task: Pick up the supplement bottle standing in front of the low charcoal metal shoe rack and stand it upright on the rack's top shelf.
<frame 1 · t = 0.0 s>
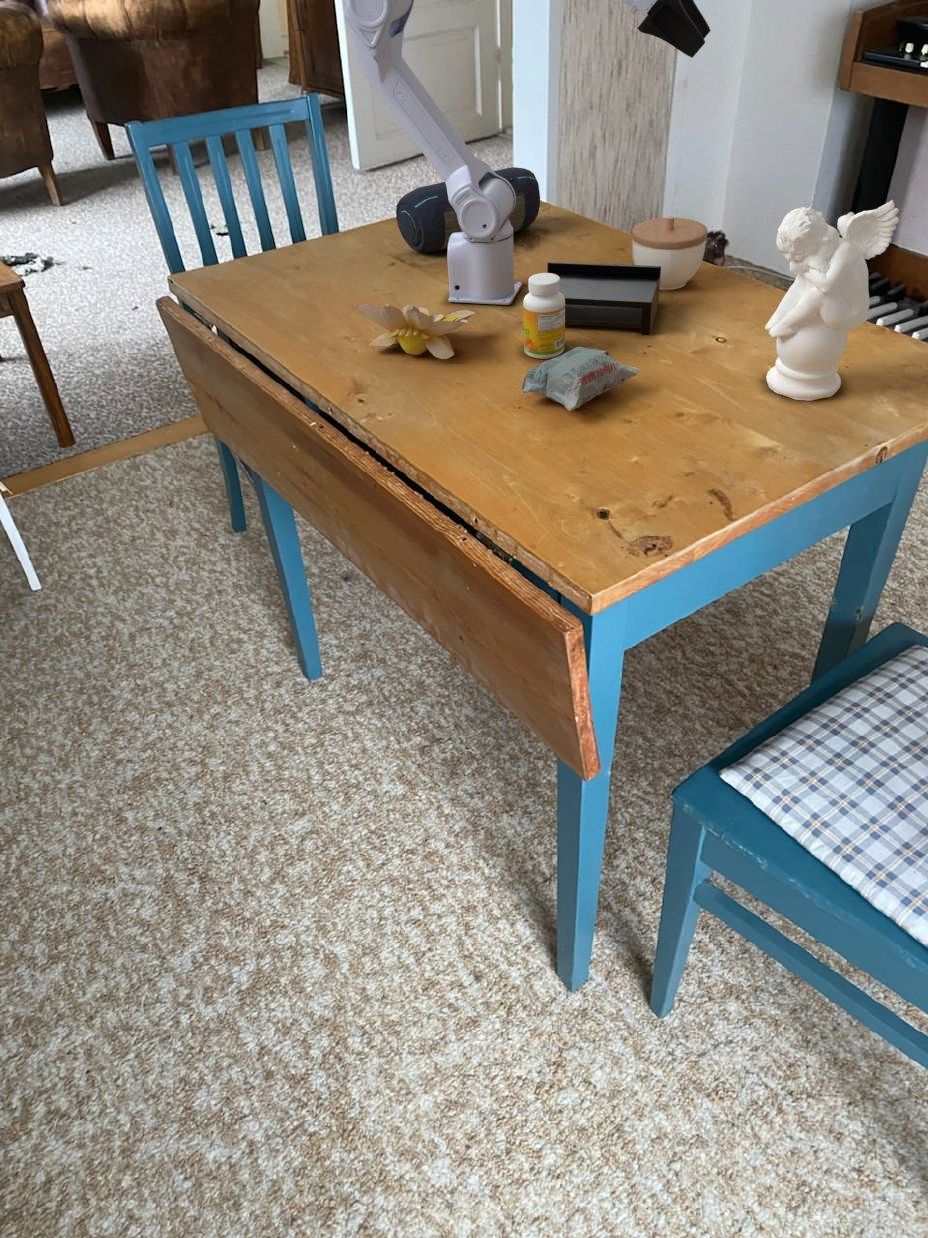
hand: (701, 43, 115), 32 cm above the table, tool tilted 50°, fingers open, 7 cm apart
portable speaker: (473, 241, 161), on the table
trinket box: (665, 283, 142), on the table
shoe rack: (596, 316, 134), on the table
supplement bottle: (544, 352, 127), on the table
packaged food: (579, 397, 116), on the table
cherub figurine: (812, 380, 116), on the table
decorative flower: (425, 351, 129), on the table
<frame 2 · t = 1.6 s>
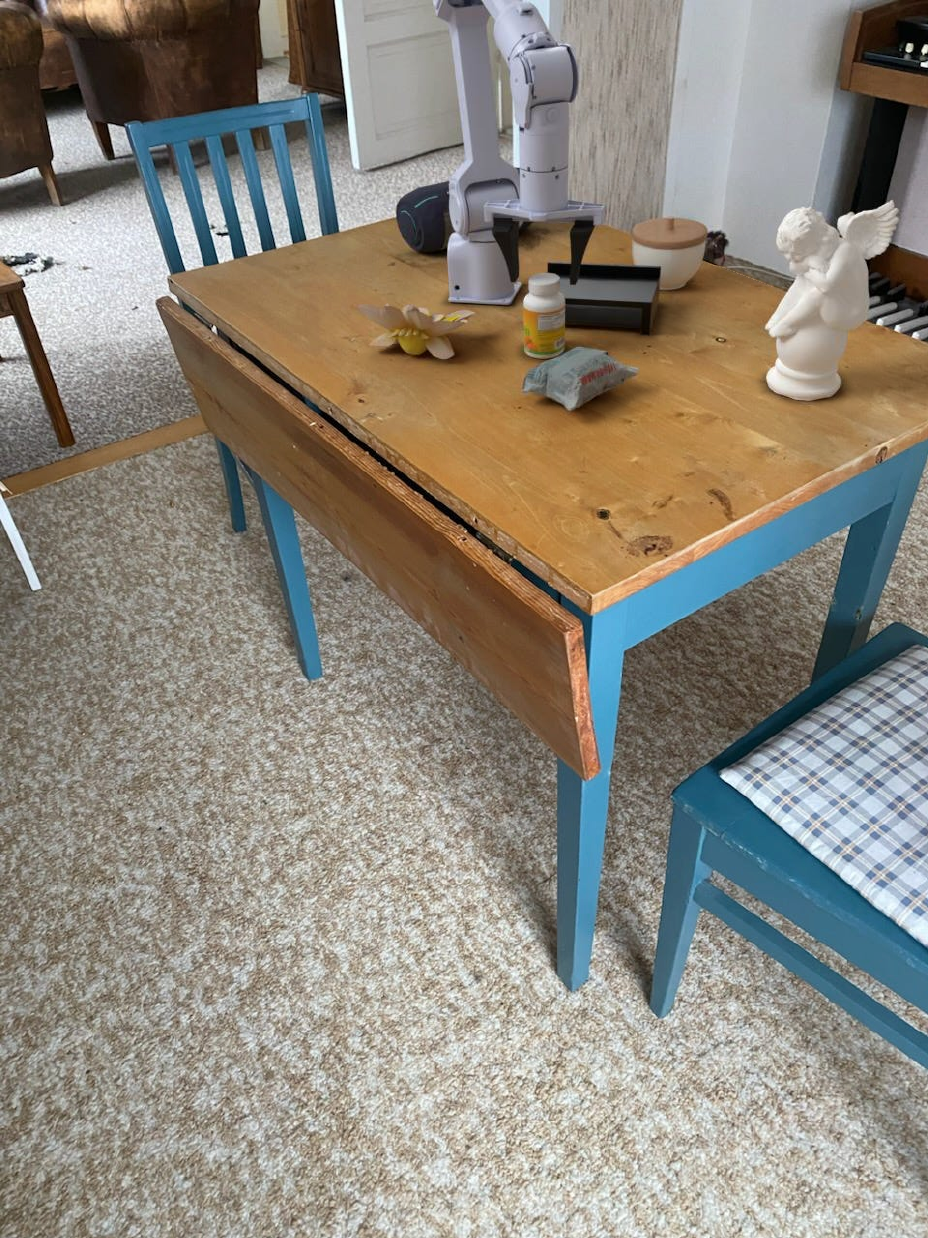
hand: (544, 280, 120), 9 cm above the table, tool pointing down, fingers open, 7 cm apart
nothing on the table moved.
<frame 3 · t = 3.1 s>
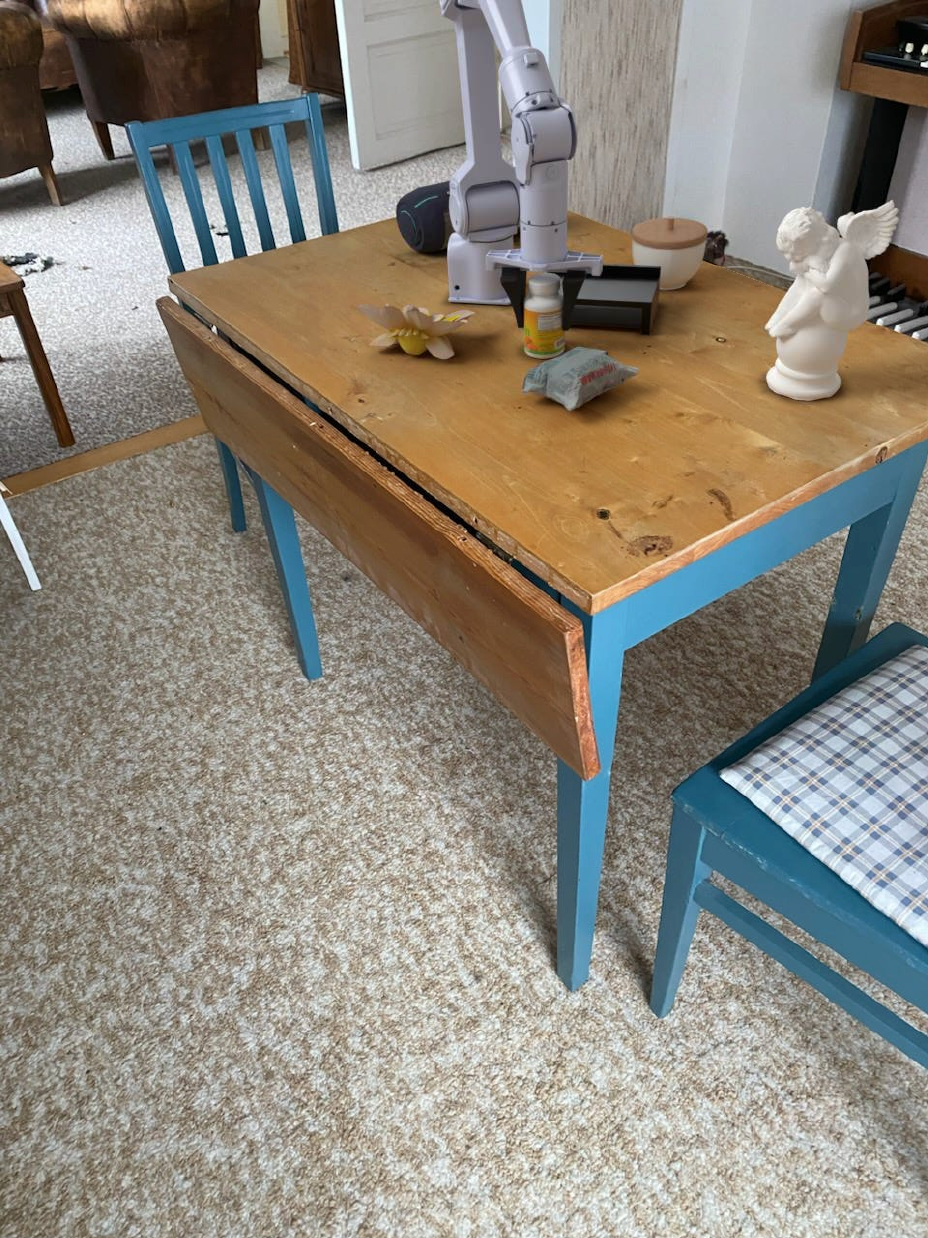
hand: (544, 326, 124), 3 cm above the table, tool pointing down, fingers closed on supplement bottle, 5 cm apart
supplement bottle: (544, 352, 127), on the table, touching gripper
everything else where it was.
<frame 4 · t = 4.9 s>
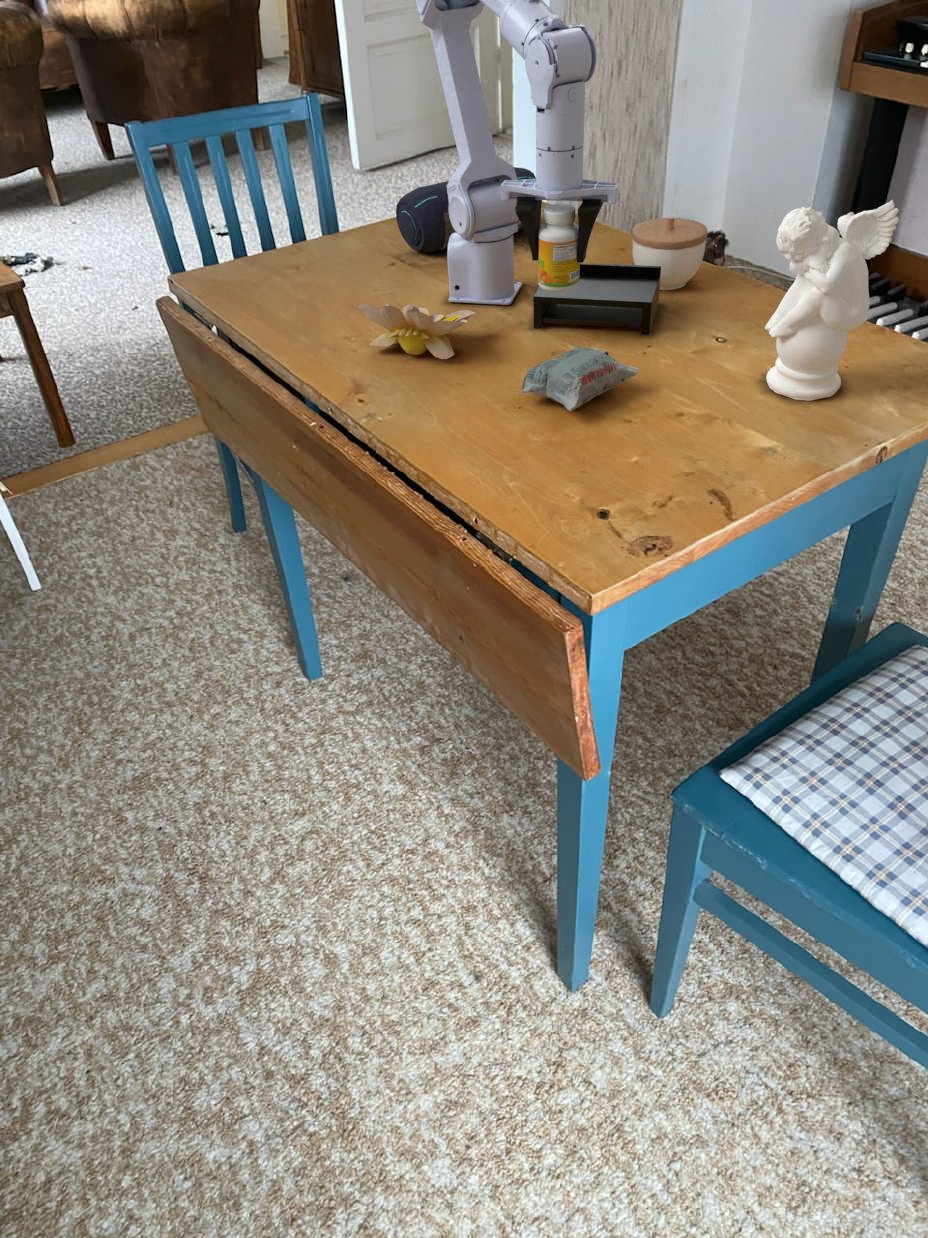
hand: (558, 258, 123), 10 cm above the table, tool pointing down, fingers closed on supplement bottle, 5 cm apart
supplement bottle: (558, 286, 126), point 7 cm above the table, touching gripper
everything else where it was.
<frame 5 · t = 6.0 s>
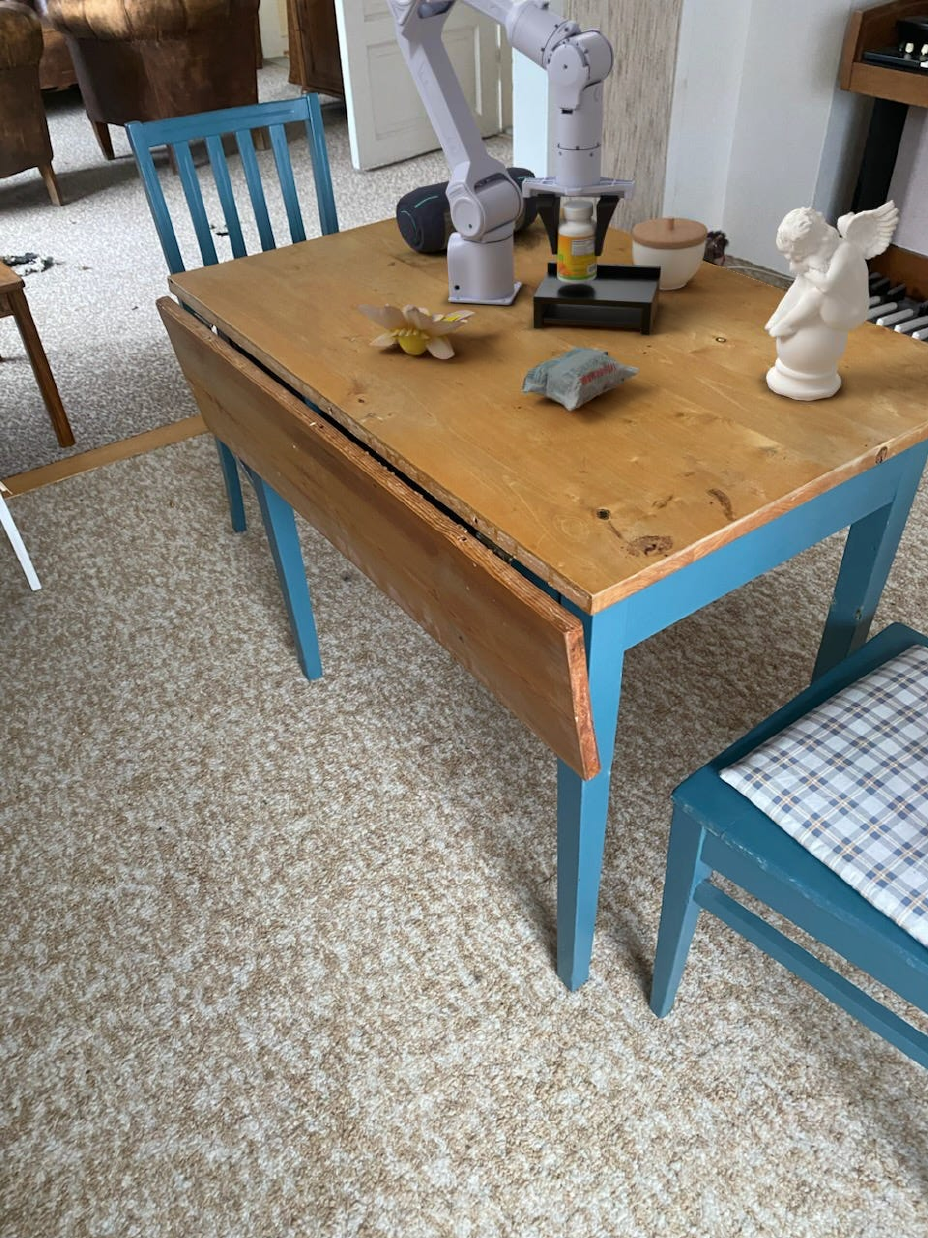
hand: (576, 252, 129), 9 cm above the table, tool pointing down, fingers closed on supplement bottle, 5 cm apart
supplement bottle: (576, 279, 131), point 5 cm above the table, touching gripper
everything else where it was.
when the fingers open (8 cm above the table, at t = 6.8 s): supplement bottle stays where it is, resting on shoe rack.
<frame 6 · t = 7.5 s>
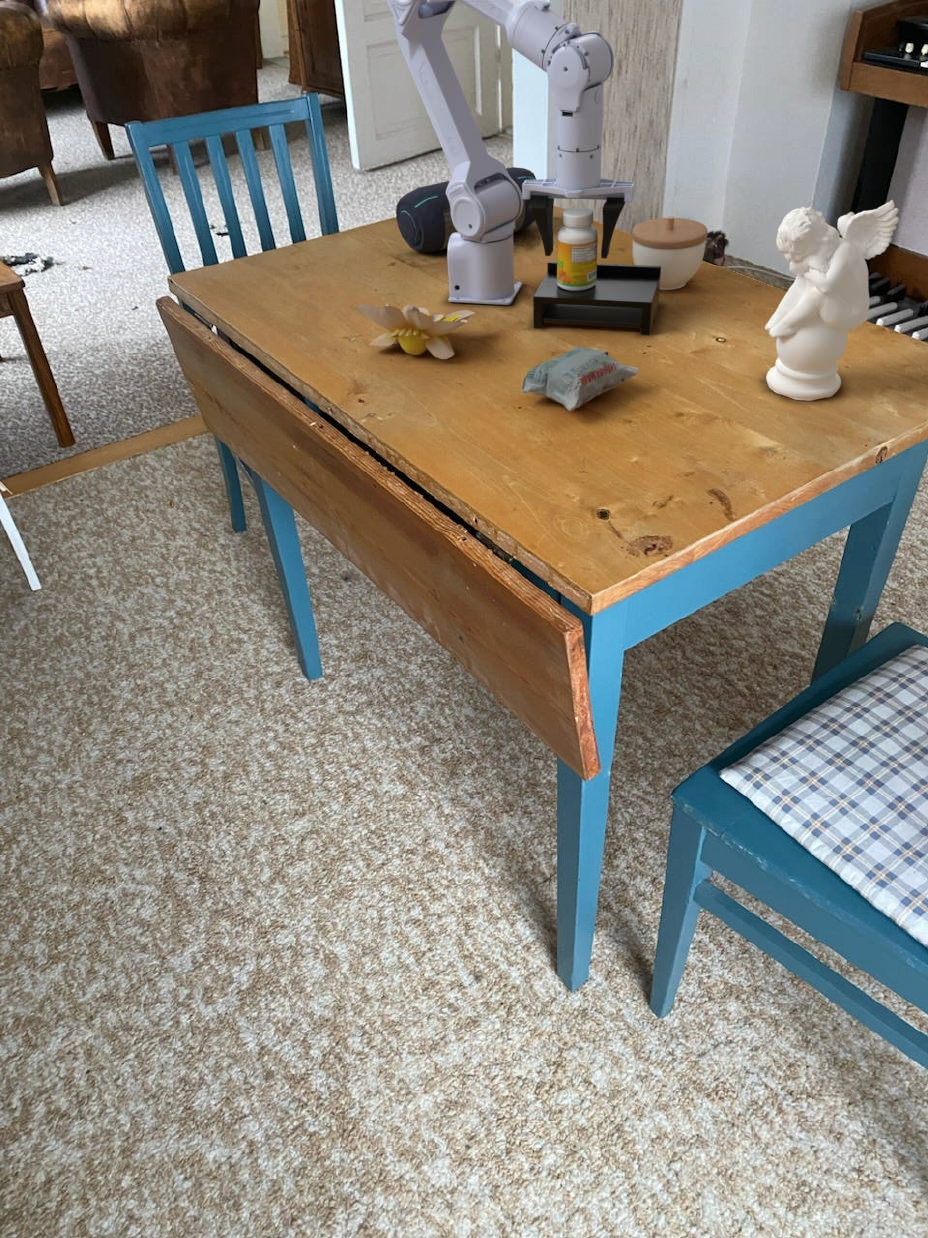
hand: (576, 254, 129), 9 cm above the table, tool pointing down, fingers open, 7 cm apart
supplement bottle: (576, 285, 132), point 4 cm above the table, touching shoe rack
everything else where it was.
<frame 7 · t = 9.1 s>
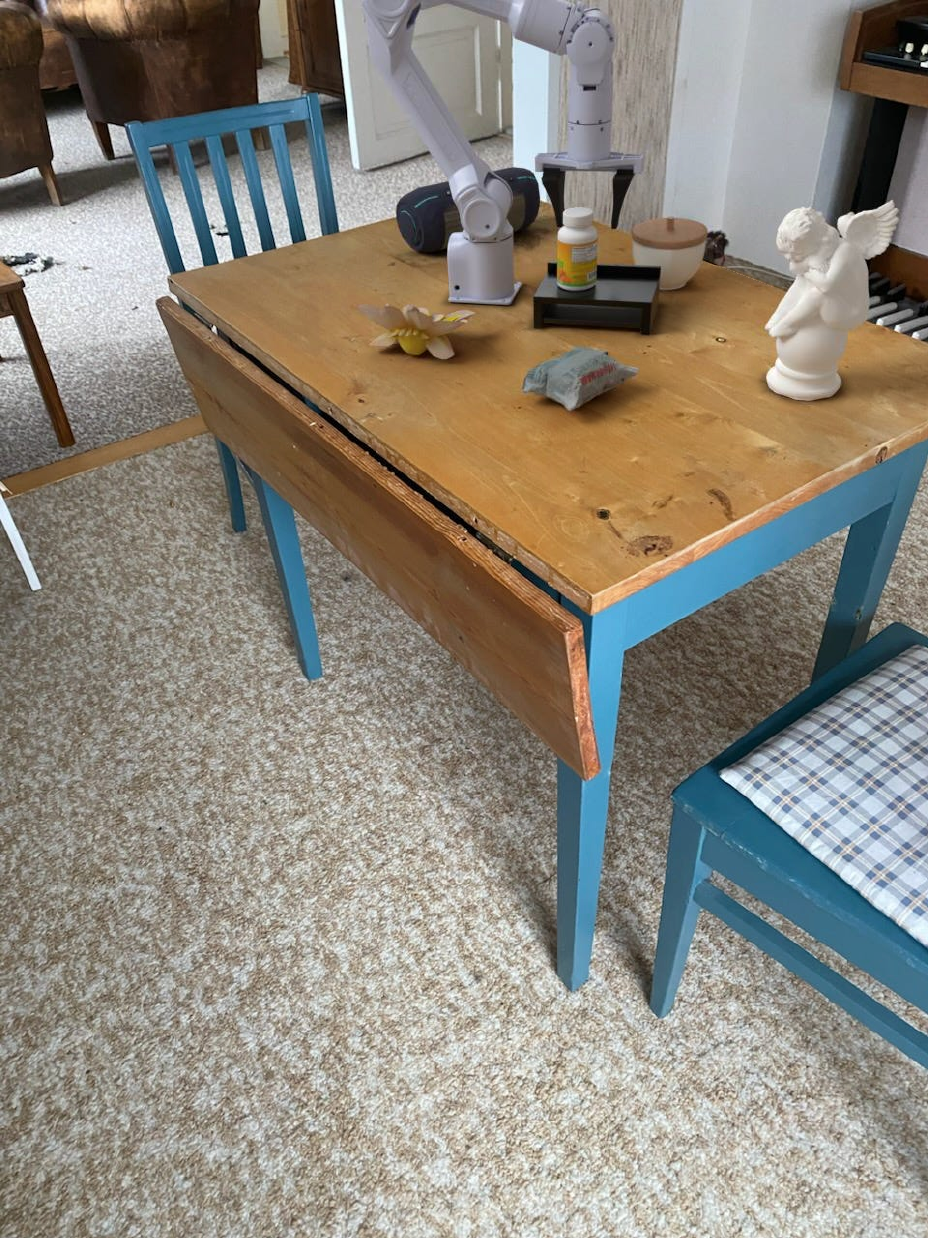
hand: (587, 225, 134), 10 cm above the table, tool pointing down, fingers open, 7 cm apart
nothing on the table moved.
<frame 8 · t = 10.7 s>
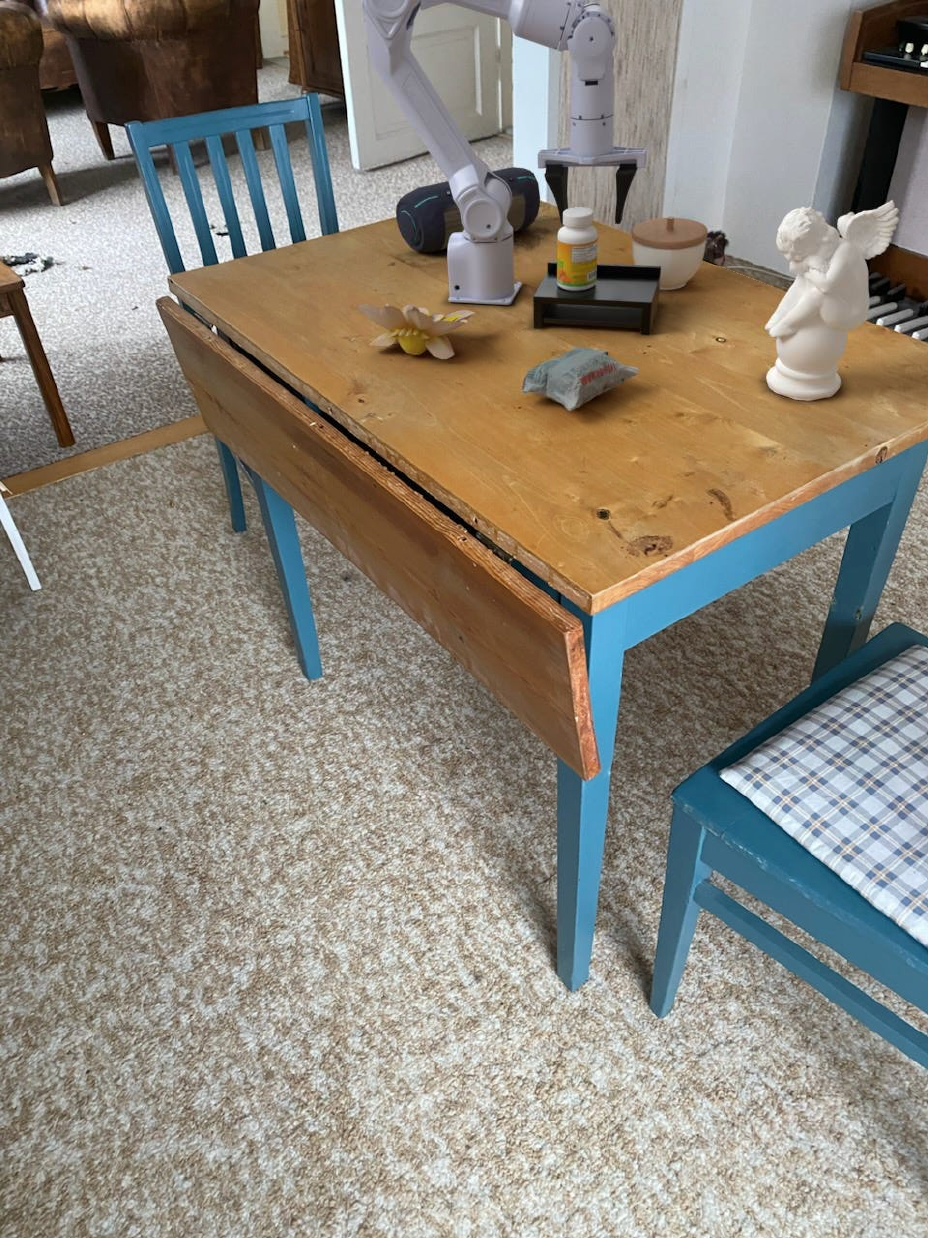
hand: (591, 221, 134), 10 cm above the table, tool pointing down, fingers open, 7 cm apart
nothing on the table moved.
at the end: supplement bottle inside the target area on the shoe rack (3.0 cm from its centre), point 4.3 cm above the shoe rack's base; supplement bottle tilted 0°; the gripper is holding nothing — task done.
